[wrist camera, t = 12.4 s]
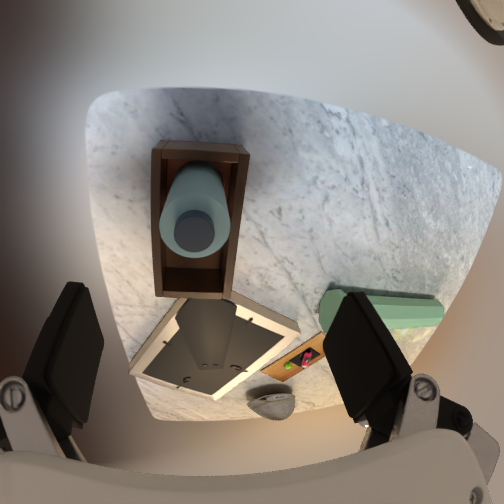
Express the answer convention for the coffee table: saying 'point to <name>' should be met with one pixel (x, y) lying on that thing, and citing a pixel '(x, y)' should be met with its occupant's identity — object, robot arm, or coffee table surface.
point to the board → (297, 359)
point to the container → (387, 310)
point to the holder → (234, 182)
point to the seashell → (274, 406)
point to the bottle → (195, 211)
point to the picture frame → (212, 345)
